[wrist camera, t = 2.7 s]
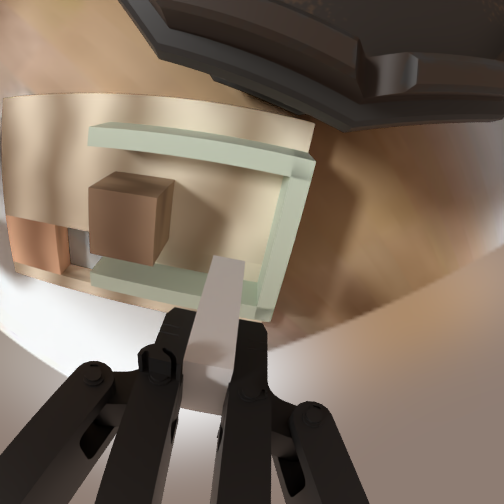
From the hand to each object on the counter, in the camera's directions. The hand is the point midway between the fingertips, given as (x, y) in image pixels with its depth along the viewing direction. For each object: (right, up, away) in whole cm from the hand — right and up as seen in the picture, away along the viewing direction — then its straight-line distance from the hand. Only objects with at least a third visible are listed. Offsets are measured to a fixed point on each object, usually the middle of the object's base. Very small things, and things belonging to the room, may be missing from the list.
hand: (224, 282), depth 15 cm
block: (-6, +5, +6) cm, 10 cm away
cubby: (-3, +4, +6) cm, 8 cm away
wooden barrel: (+5, +19, +1) cm, 20 cm away
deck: (-9, +5, +8) cm, 13 cm away
